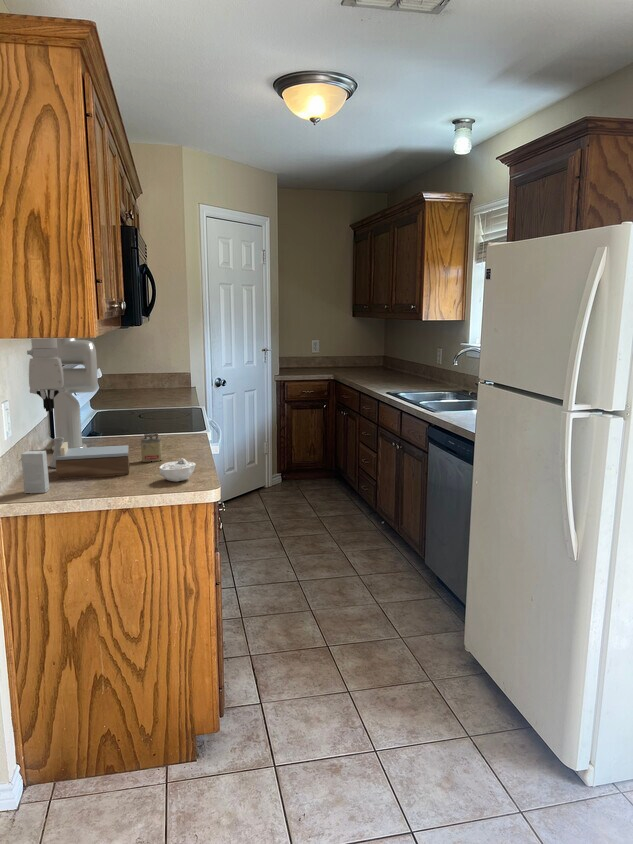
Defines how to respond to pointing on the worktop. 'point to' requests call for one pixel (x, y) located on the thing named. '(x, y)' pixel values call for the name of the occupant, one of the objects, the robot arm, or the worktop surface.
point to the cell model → (177, 470)
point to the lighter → (151, 448)
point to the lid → (91, 452)
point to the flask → (56, 451)
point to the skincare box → (35, 472)
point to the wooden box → (92, 467)
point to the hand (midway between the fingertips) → (49, 410)
